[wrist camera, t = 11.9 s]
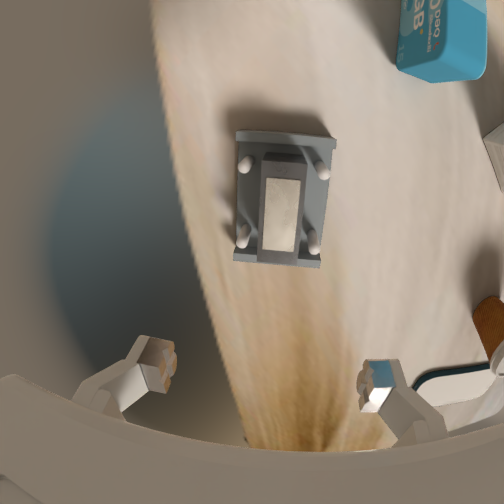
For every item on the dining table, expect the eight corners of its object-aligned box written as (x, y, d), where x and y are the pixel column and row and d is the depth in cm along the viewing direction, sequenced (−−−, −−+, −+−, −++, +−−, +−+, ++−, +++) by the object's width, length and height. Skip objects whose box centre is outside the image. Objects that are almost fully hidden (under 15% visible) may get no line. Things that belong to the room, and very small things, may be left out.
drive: (266, 151, 30) (261, 160, 25) (303, 154, 30) (307, 164, 24) (261, 237, 35) (256, 262, 29) (295, 240, 34) (296, 266, 29)
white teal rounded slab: (502, 359, 43) (505, 365, 41) (479, 391, 48) (481, 397, 46) (421, 370, 45) (424, 377, 43) (400, 404, 50) (402, 411, 48)
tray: (240, 129, 30) (232, 132, 26) (331, 136, 30) (340, 141, 25) (237, 248, 37) (230, 269, 32) (317, 255, 36) (320, 277, 32)
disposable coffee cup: (458, 314, 38) (487, 366, 27) (498, 277, 34) (536, 322, 23) (473, 340, 40) (498, 387, 29) (510, 307, 36) (540, 350, 26)
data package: (401, -10, 19) (443, -48, 9) (434, 4, 19) (484, -24, 9) (393, 71, 25) (443, 57, 14) (427, 84, 25) (486, 80, 14)
